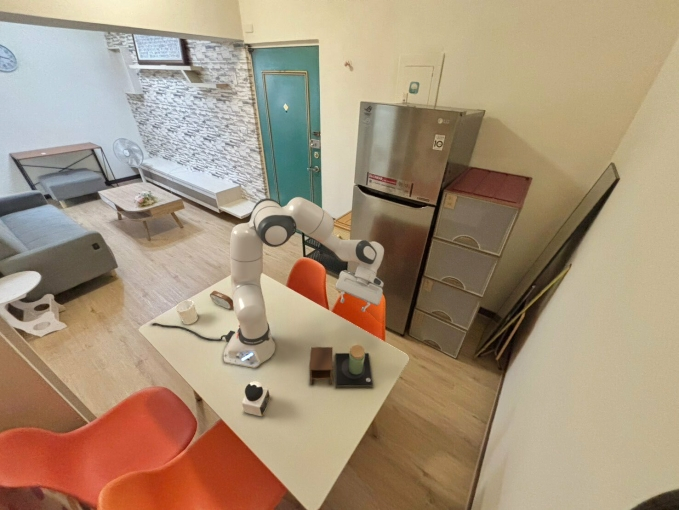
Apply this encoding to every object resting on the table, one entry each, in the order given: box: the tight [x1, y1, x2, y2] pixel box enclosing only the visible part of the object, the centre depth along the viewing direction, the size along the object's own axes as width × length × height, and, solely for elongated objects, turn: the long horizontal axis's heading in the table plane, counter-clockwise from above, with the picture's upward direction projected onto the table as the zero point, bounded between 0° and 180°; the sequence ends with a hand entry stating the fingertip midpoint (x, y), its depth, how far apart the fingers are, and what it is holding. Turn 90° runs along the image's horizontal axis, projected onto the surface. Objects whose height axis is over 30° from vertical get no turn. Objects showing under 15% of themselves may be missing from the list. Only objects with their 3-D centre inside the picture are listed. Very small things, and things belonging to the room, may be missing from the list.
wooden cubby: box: [308, 346, 334, 385], centre depth 110 cm, size 9×10×11 cm
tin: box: [209, 290, 234, 310], centre depth 141 cm, size 15×3×8 cm, turn 65°
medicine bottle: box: [241, 380, 271, 417], centre depth 98 cm, size 7×7×12 cm
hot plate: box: [334, 352, 374, 389], centre depth 113 cm, size 15×15×3 cm
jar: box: [348, 344, 366, 374], centre depth 110 cm, size 6×6×11 cm
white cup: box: [175, 299, 199, 325], centre depth 132 cm, size 8×8×10 cm
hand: (352, 307), depth 110 cm, fingers open, 8 cm apart
